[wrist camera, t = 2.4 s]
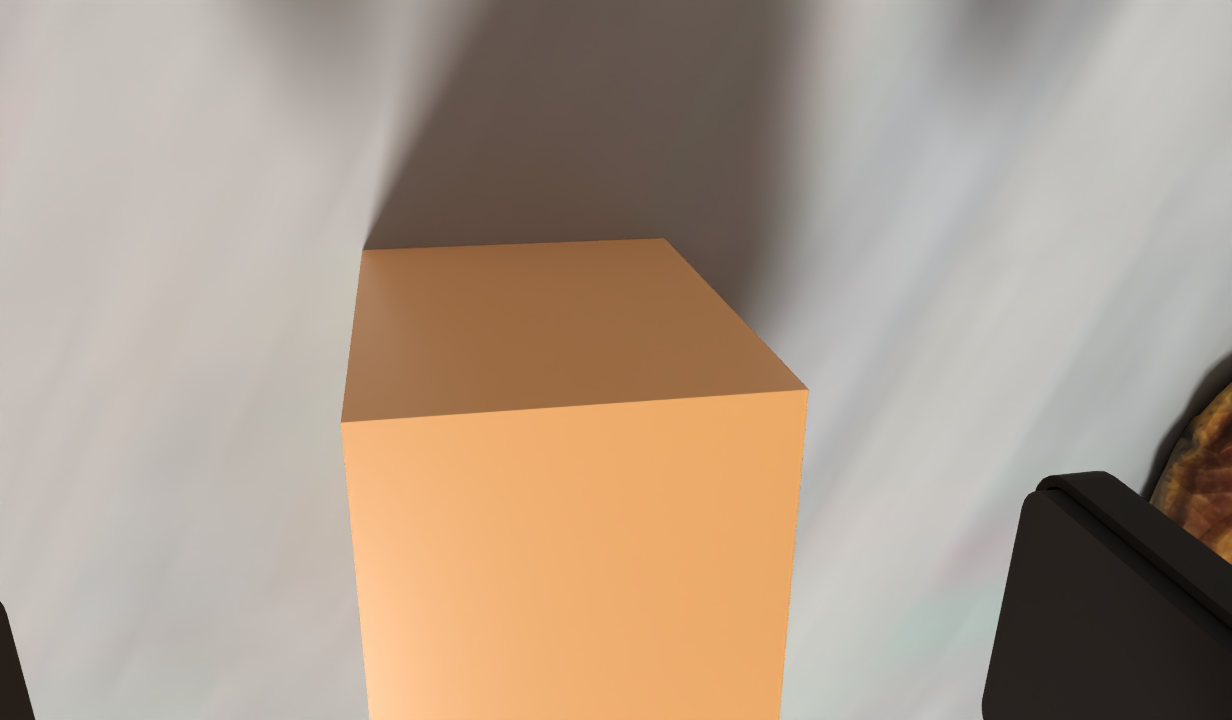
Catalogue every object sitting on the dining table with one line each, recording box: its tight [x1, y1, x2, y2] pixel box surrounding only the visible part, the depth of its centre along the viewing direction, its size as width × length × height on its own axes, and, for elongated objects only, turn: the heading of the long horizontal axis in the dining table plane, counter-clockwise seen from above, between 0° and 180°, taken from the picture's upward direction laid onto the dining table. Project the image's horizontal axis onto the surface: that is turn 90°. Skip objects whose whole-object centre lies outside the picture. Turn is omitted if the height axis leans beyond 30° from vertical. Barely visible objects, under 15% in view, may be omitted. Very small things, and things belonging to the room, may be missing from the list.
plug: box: [341, 238, 809, 720], centre depth 13 cm, size 4×6×6 cm
